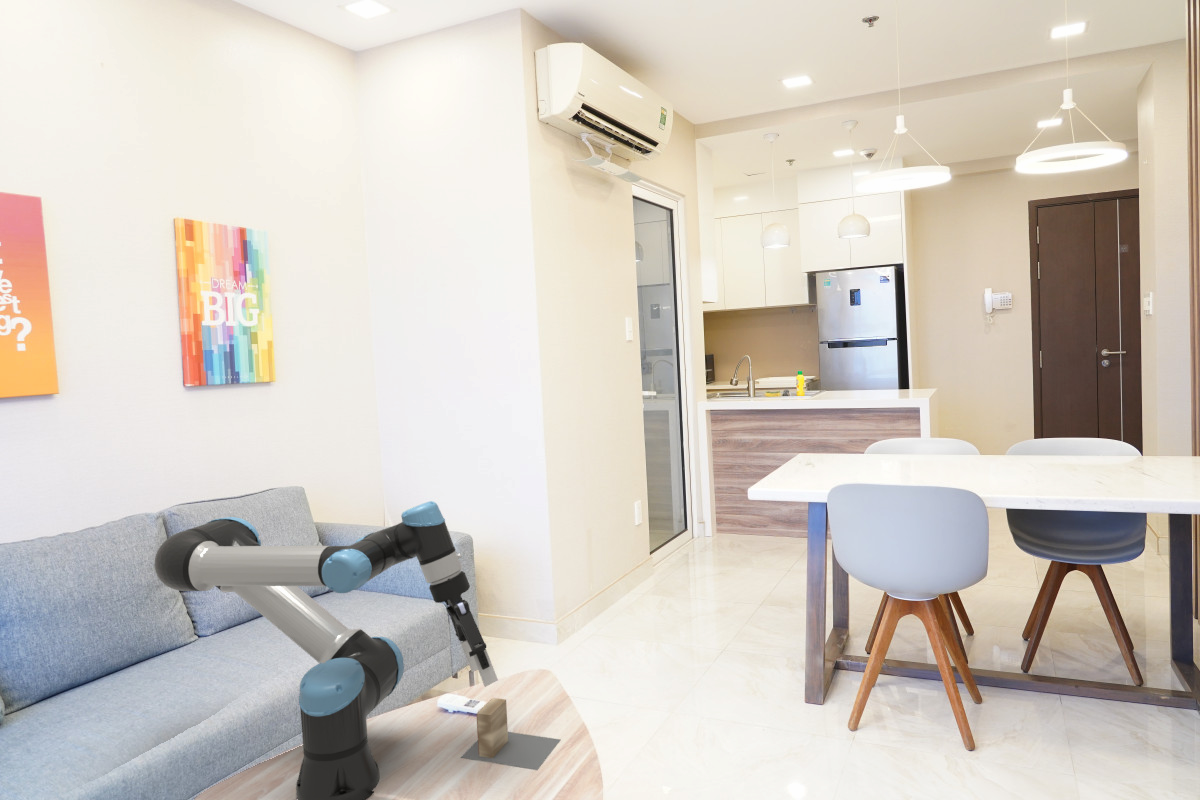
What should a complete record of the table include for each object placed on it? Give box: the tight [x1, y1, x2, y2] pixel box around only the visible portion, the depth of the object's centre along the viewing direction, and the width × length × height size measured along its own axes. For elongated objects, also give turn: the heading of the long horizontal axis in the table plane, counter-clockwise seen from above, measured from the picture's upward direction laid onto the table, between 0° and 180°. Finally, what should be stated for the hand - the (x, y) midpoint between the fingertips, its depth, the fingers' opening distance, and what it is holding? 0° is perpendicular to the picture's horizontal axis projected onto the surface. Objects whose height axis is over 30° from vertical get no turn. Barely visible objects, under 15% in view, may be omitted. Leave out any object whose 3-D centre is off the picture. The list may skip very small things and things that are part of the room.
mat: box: [460, 731, 561, 771], centre depth 159 cm, size 17×12×1 cm
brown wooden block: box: [475, 697, 509, 758], centre depth 159 cm, size 3×7×9 cm, turn 161°
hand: (484, 676), depth 155 cm, fingers open, 13 cm apart
